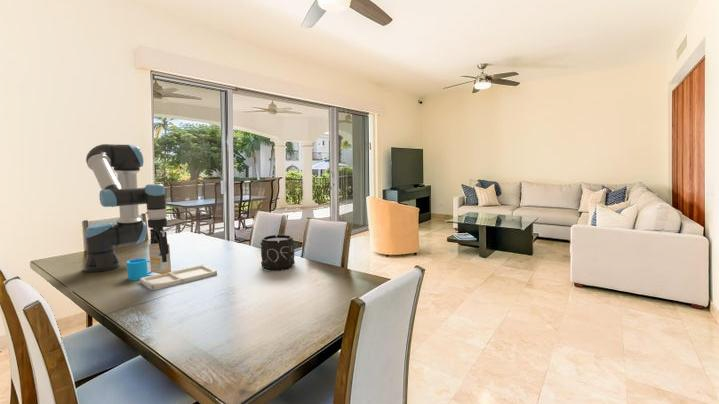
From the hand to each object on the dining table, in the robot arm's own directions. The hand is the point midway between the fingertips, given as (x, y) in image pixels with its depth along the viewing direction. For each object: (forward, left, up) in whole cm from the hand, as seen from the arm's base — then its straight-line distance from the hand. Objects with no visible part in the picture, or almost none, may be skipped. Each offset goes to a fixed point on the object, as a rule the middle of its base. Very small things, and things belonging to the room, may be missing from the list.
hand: (160, 266), depth 161 cm
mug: (-17, -3, -8) cm, 19 cm away
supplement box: (0, 0, -3) cm, 3 cm away
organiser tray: (0, +8, -8) cm, 11 cm away
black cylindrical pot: (+19, +51, -8) cm, 55 cm away
